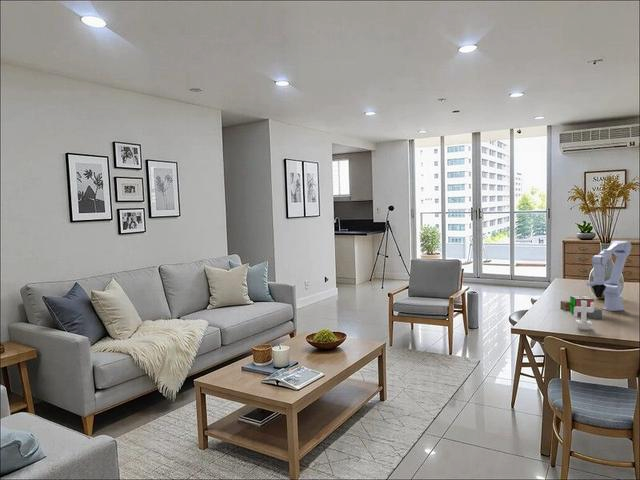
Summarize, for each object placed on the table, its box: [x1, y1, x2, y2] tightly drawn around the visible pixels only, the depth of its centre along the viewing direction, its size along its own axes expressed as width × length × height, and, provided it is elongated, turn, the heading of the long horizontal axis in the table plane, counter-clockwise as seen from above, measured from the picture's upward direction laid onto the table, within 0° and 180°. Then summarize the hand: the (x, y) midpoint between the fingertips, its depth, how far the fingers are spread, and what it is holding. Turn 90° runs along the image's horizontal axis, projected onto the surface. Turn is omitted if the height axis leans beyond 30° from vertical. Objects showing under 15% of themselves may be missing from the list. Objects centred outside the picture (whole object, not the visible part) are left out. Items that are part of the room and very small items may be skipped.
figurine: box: [573, 301, 595, 331], centre depth 250 cm, size 7×9×15 cm
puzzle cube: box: [569, 295, 595, 316], centre depth 284 cm, size 10×10×10 cm
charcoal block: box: [587, 307, 603, 320], centre depth 274 cm, size 5×5×5 cm
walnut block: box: [560, 300, 570, 311], centre depth 297 cm, size 5×5×5 cm
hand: (598, 297), depth 285 cm, fingers closed
